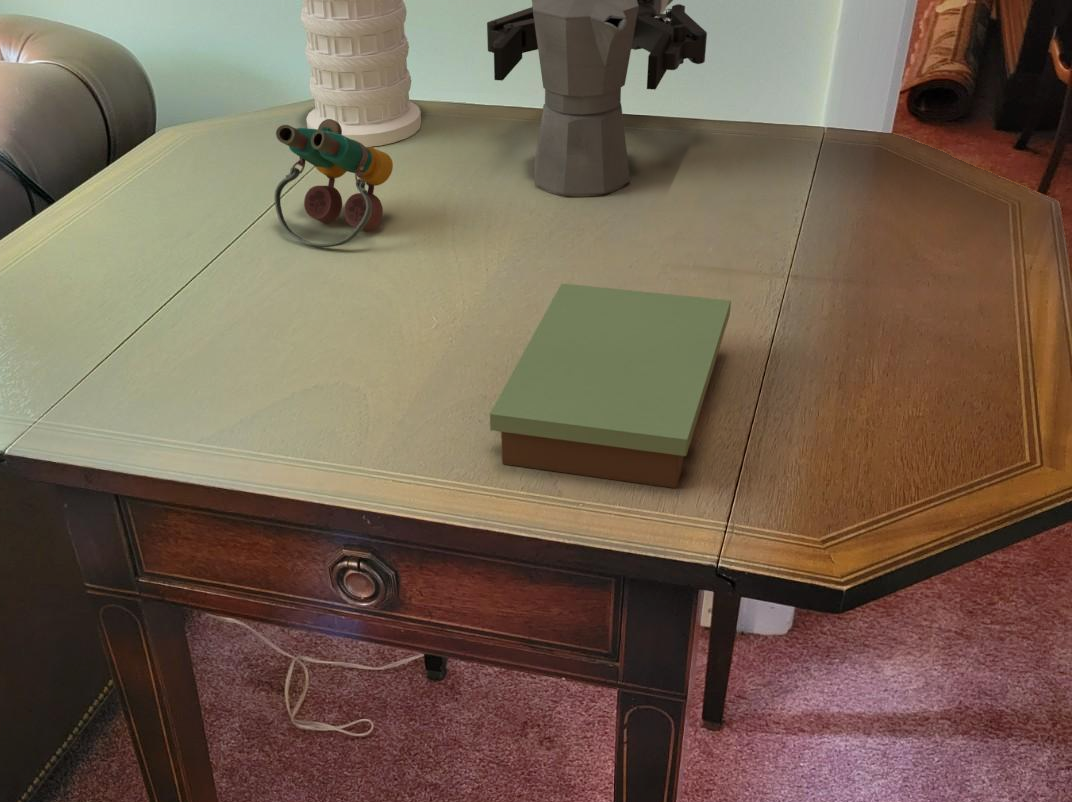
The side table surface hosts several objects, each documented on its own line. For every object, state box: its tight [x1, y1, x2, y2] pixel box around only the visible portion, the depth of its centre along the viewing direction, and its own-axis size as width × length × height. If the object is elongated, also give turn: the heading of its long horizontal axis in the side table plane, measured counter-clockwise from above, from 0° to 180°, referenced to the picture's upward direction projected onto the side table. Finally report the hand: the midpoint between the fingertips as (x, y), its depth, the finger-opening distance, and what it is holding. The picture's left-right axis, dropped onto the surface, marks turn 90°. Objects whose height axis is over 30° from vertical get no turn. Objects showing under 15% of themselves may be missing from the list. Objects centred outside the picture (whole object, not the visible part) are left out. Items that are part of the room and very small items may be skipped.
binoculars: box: [273, 119, 394, 248], centre depth 101 cm, size 9×9×10 cm
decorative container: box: [300, 0, 422, 148], centre depth 118 cm, size 12×12×18 cm
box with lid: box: [489, 283, 732, 489], centre depth 80 cm, size 12×18×4 cm, turn 163°
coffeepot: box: [531, 0, 639, 198], centre depth 106 cm, size 15×9×18 cm, turn 22°
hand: (573, 68), depth 105 cm, fingers open, 13 cm apart
